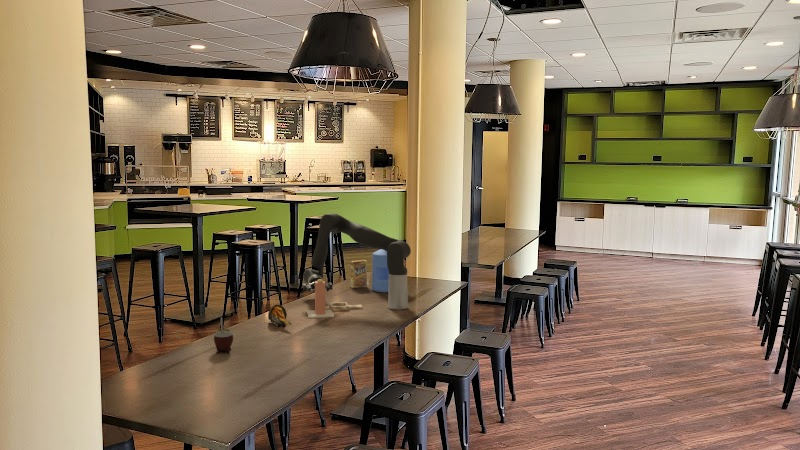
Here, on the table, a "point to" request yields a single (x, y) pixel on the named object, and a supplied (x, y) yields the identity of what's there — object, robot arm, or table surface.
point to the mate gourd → (223, 339)
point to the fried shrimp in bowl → (278, 315)
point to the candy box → (358, 273)
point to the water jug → (380, 271)
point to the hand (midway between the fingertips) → (318, 289)
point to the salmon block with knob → (320, 297)
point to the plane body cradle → (342, 306)
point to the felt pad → (312, 314)
